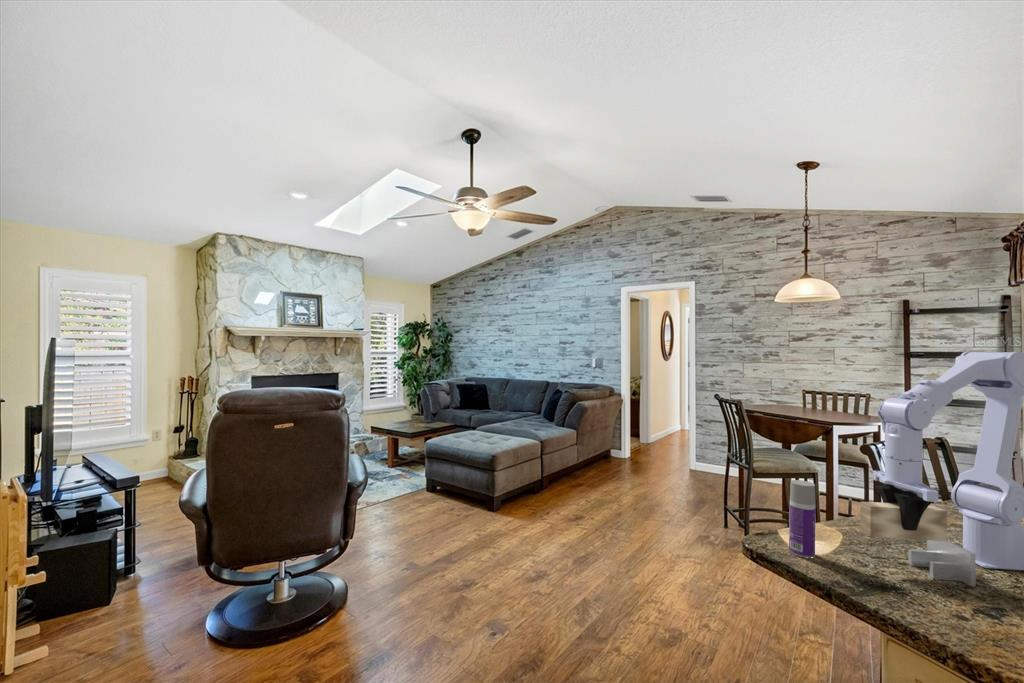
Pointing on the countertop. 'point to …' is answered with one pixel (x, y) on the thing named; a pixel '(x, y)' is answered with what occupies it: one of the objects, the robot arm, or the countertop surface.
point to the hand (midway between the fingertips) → (902, 526)
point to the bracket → (945, 561)
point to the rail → (888, 523)
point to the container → (802, 518)
